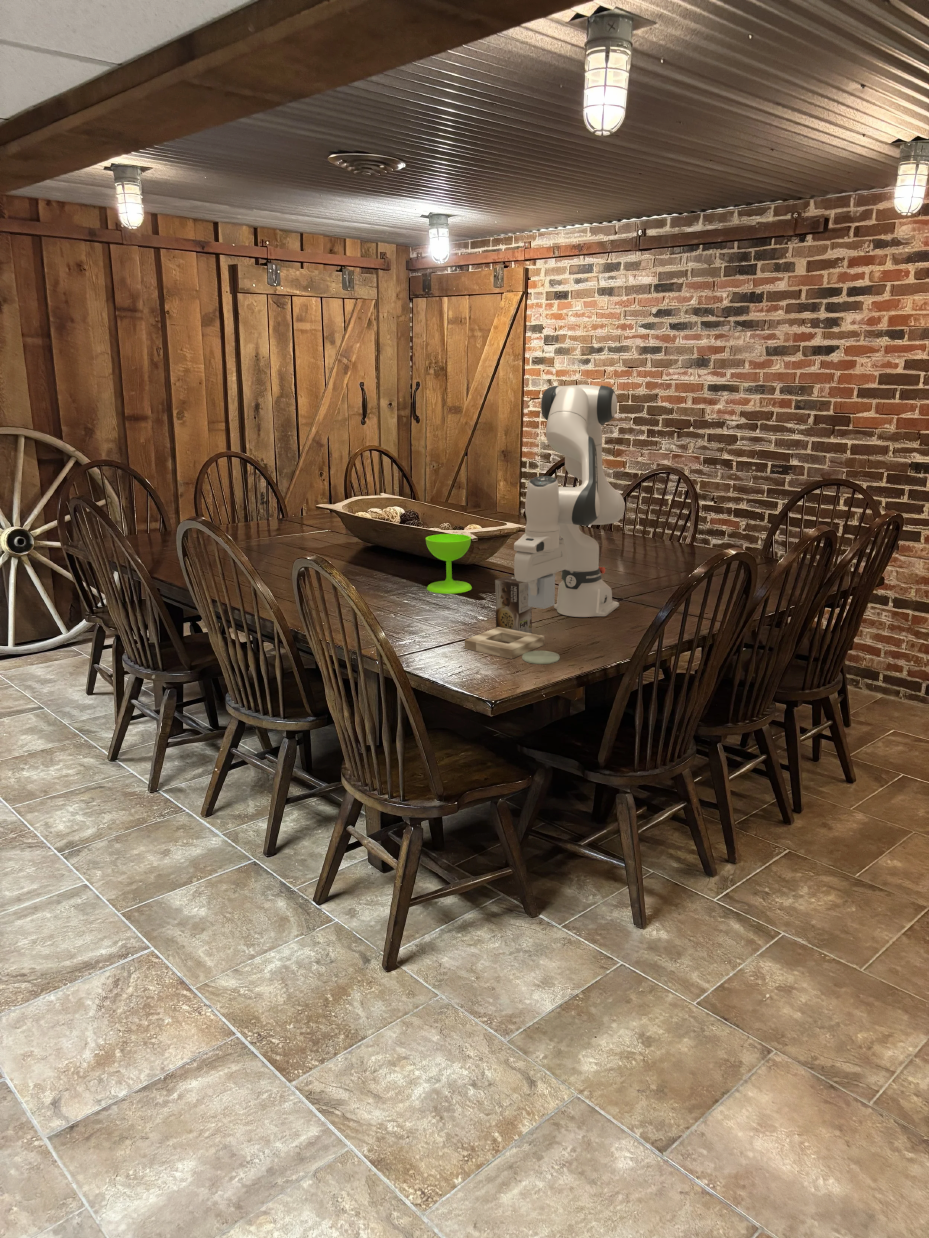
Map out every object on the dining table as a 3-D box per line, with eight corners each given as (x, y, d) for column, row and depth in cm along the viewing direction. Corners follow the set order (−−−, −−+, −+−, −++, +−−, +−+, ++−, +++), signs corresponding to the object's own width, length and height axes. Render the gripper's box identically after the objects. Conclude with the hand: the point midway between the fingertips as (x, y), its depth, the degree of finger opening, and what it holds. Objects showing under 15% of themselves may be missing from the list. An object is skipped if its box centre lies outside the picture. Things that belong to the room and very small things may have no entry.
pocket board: (498, 635, 267) (498, 626, 266) (544, 644, 257) (544, 636, 257) (464, 648, 255) (464, 639, 254) (511, 658, 245) (511, 650, 244)
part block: (538, 602, 245) (538, 573, 243) (554, 605, 242) (554, 575, 240) (528, 606, 241) (528, 576, 239) (544, 608, 238) (544, 578, 236)
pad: (535, 650, 252) (535, 648, 252) (566, 657, 246) (566, 654, 246) (514, 659, 245) (514, 657, 244) (546, 666, 239) (546, 664, 238)
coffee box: (532, 632, 269) (533, 579, 264) (518, 637, 264) (519, 583, 260) (508, 627, 275) (508, 574, 270) (494, 632, 270) (494, 578, 266)
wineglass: (466, 594, 314) (466, 542, 309) (421, 592, 317) (420, 541, 312) (475, 583, 329) (475, 534, 324) (432, 582, 332) (431, 533, 328)
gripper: (553, 533, 247) (552, 583, 250) (509, 545, 231) (509, 598, 235) (573, 535, 243) (572, 586, 246) (530, 547, 227) (530, 601, 231)
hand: (541, 592), depth 240 cm, fingers closed on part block, 5 cm apart
